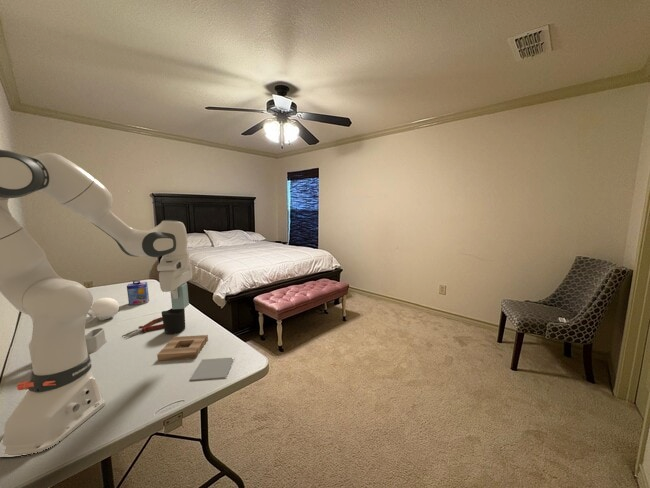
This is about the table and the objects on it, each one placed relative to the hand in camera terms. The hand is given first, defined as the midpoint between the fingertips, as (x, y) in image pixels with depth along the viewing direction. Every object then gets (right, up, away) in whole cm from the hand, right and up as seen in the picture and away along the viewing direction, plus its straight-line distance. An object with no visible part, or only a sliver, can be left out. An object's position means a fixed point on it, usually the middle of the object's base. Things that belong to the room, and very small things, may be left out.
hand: (179, 295), depth 105 cm
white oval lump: (-61, -19, +38) cm, 74 cm away
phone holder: (-45, -24, +5) cm, 51 cm away
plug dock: (0, -23, +3) cm, 23 cm away
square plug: (0, -5, +1) cm, 5 cm away
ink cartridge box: (-58, -16, +59) cm, 84 cm away
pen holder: (-14, -21, +21) cm, 32 cm away
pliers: (-28, -21, +24) cm, 43 cm away
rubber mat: (+18, -24, -10) cm, 32 cm away
